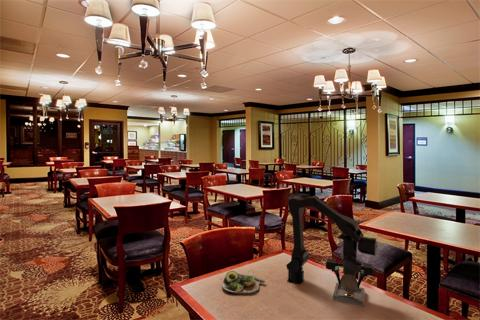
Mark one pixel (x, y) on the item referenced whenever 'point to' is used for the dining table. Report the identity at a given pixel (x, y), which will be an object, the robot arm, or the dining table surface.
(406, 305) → the dining table surface
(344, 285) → the vase
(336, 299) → the grey square tray
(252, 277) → the salad plate
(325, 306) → the dining table surface
